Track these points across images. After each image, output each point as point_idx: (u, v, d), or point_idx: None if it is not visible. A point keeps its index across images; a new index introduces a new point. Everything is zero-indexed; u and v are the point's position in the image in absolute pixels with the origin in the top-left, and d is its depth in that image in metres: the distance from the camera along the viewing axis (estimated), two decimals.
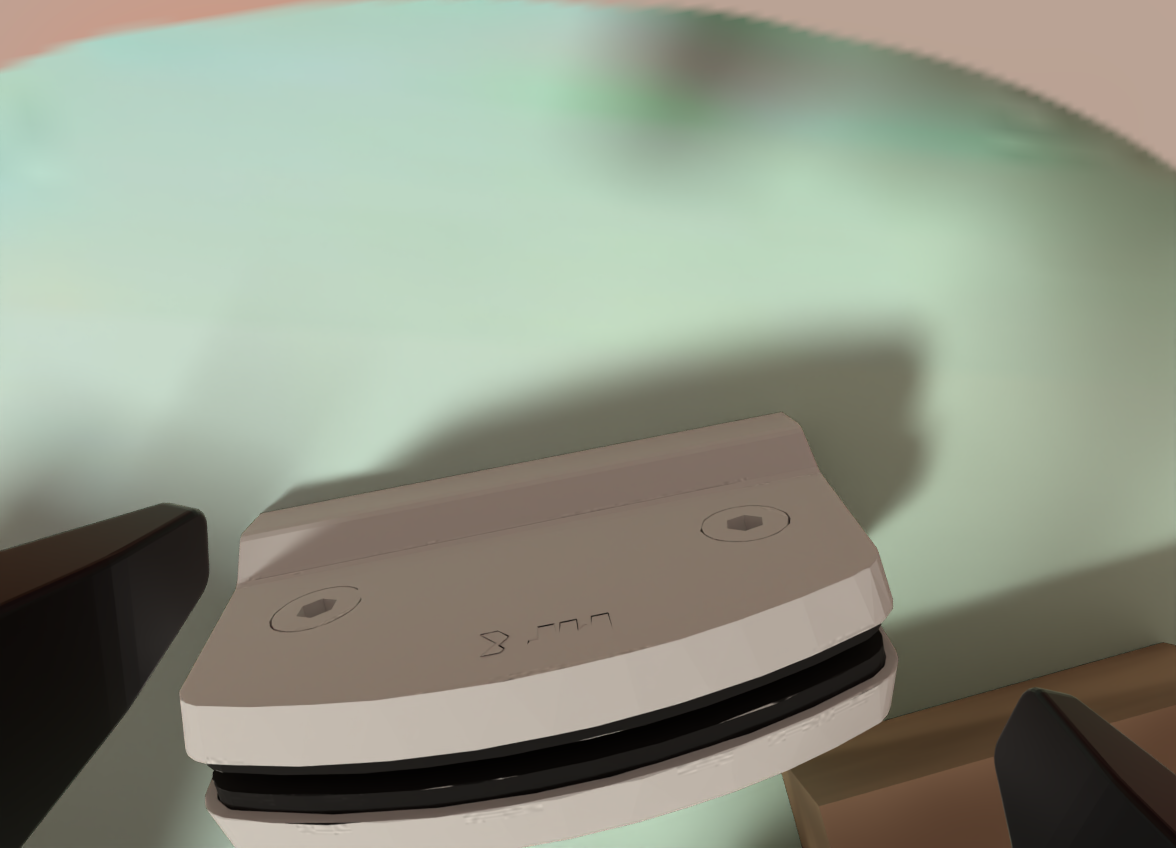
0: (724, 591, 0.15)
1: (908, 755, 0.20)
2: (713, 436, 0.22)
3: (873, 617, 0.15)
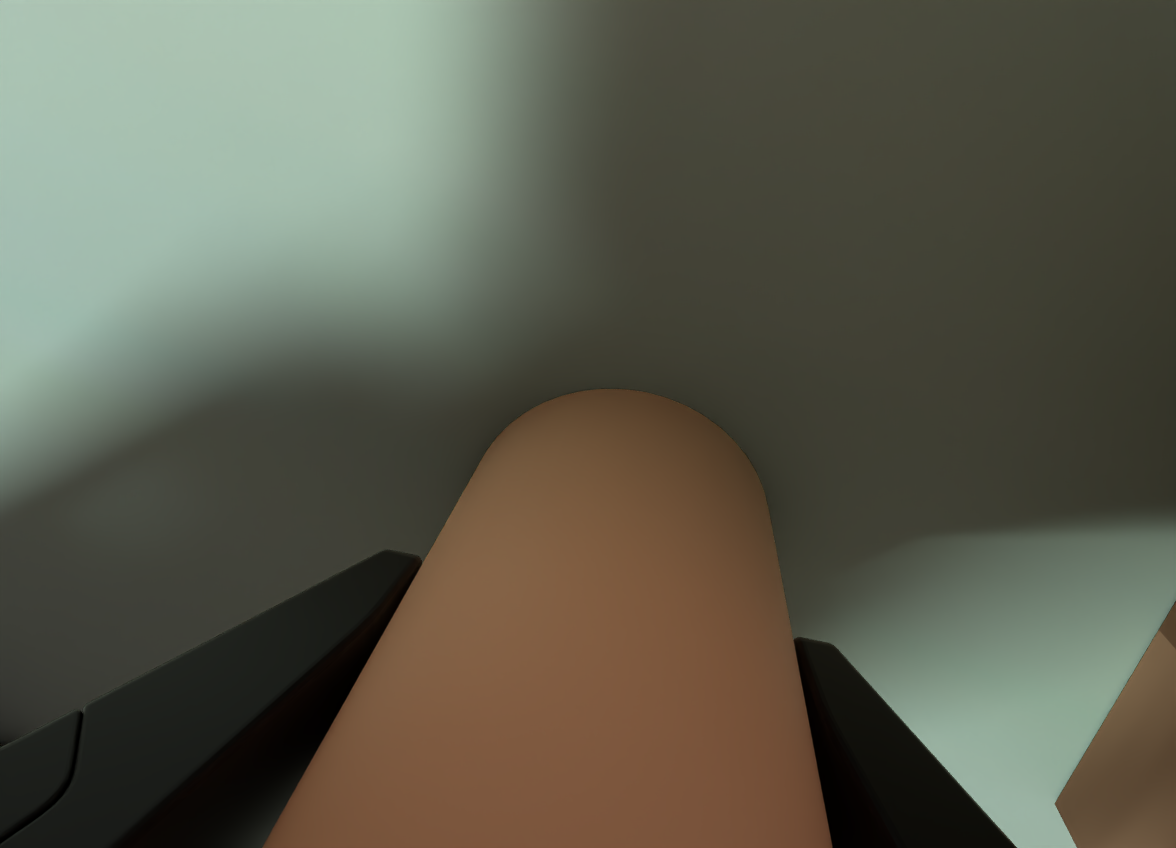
0: None
1: None
2: None
3: None
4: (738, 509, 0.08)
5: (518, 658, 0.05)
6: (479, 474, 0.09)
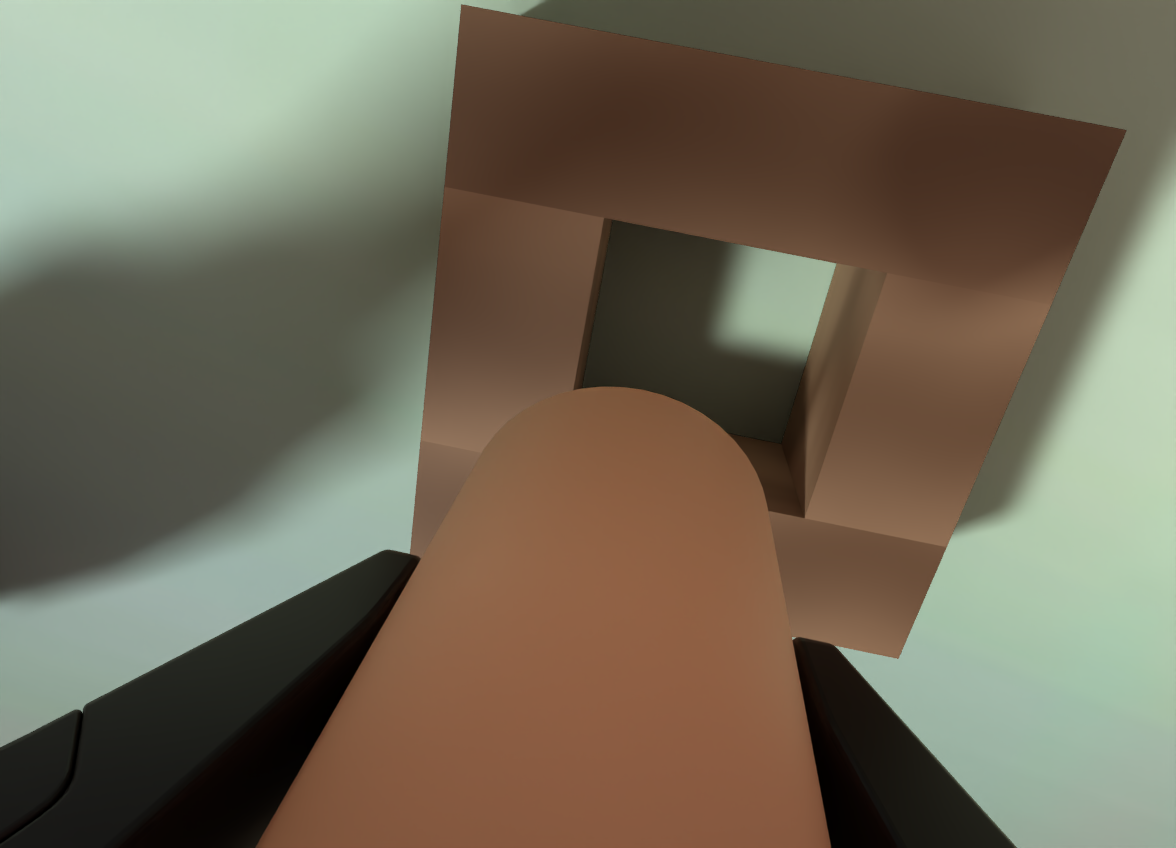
0: None
1: None
2: None
3: None
4: (737, 507, 0.08)
5: (514, 656, 0.05)
6: (476, 472, 0.09)
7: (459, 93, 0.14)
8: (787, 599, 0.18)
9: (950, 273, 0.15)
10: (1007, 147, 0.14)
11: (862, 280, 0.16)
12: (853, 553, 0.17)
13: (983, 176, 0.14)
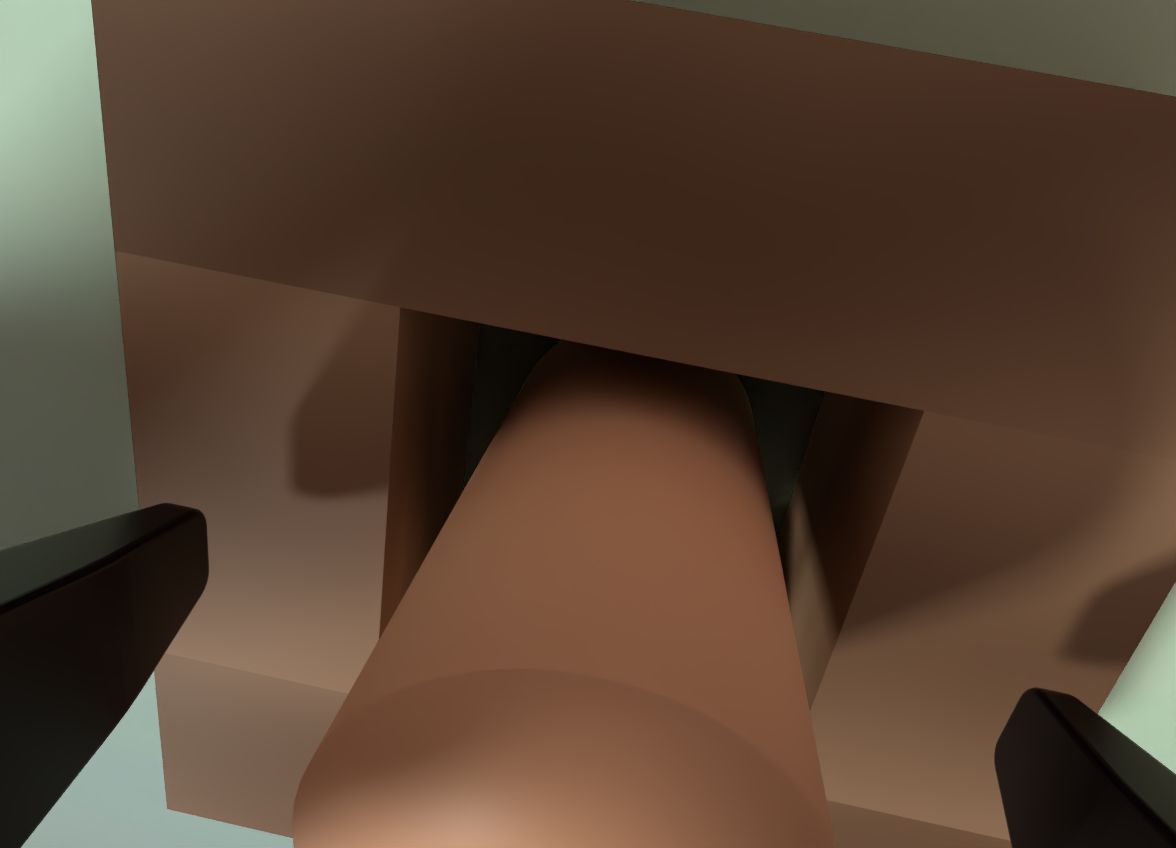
0: None
1: None
2: None
3: None
4: (727, 398, 0.10)
5: (579, 453, 0.08)
6: (531, 379, 0.11)
7: (109, 80, 0.08)
8: None
9: (1046, 413, 0.08)
10: (1173, 180, 0.07)
11: None
12: (862, 842, 0.10)
13: (1121, 236, 0.07)
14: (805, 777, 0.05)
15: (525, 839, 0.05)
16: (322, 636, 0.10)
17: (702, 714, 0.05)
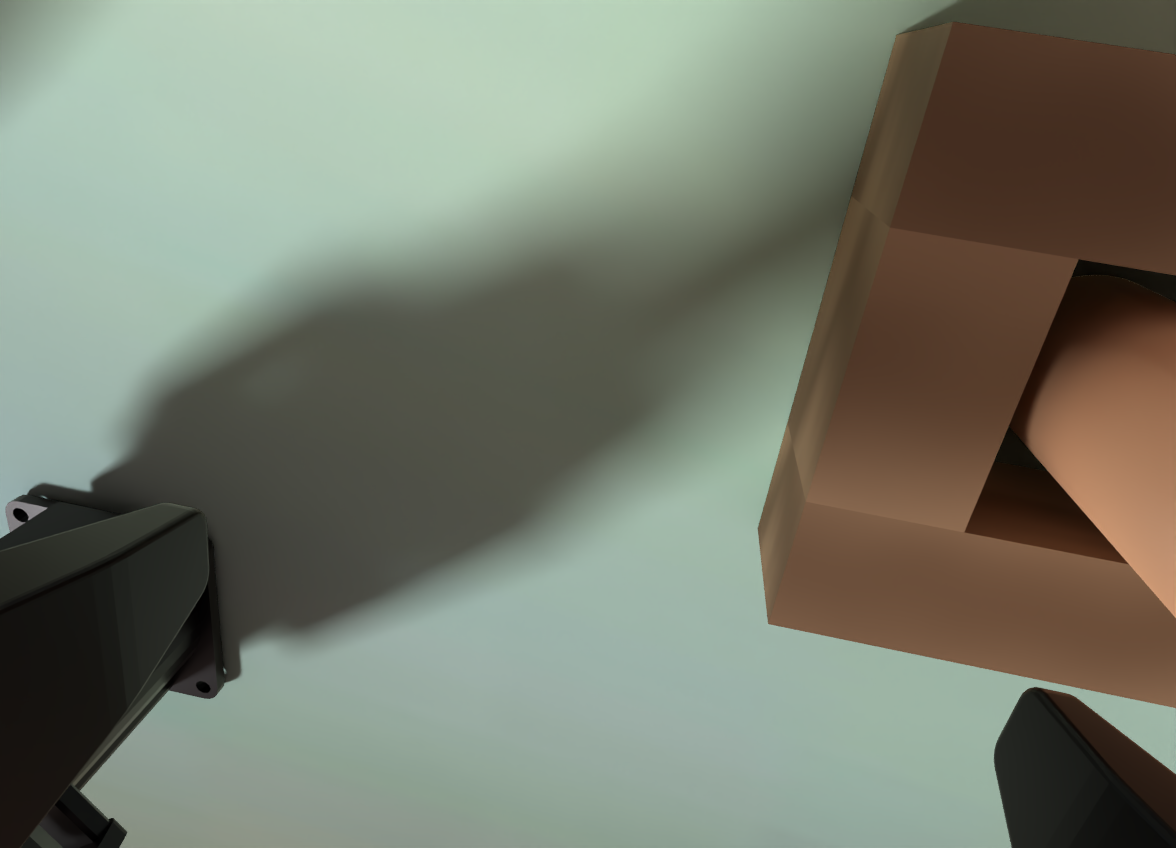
0: None
1: None
2: None
3: None
4: None
5: None
6: None
7: (930, 123, 0.13)
8: None
9: None
10: None
11: None
12: None
13: None
14: None
15: None
16: (940, 486, 0.15)
17: None
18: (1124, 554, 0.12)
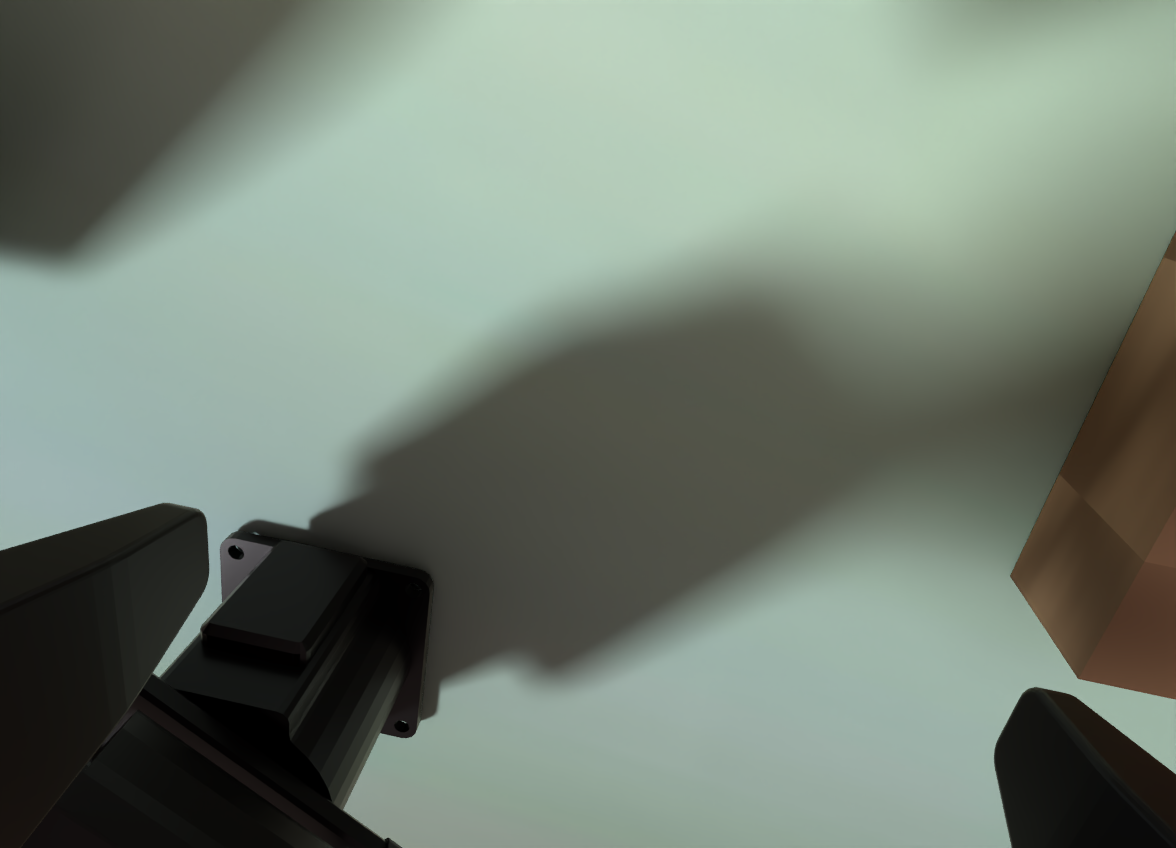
0: None
1: None
2: None
3: None
4: None
5: None
6: None
7: None
8: None
9: None
10: None
11: None
12: None
13: None
14: None
15: None
16: None
17: None
18: None
